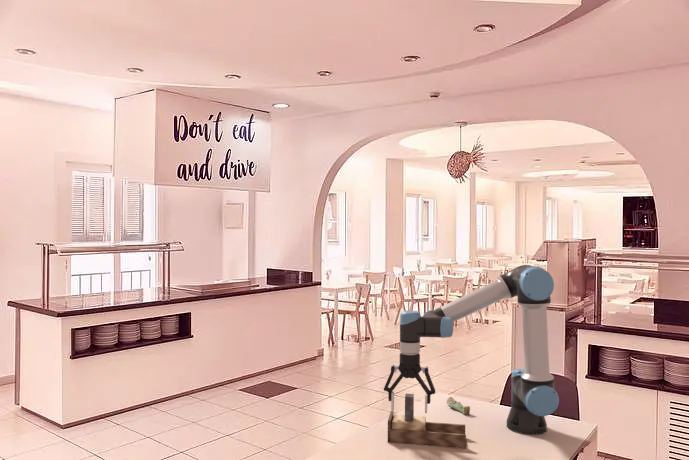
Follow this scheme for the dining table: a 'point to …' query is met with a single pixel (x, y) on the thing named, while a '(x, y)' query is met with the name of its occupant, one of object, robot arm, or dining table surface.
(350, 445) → the dining table surface
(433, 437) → the bay
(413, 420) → the block with handle
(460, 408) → the figurine
